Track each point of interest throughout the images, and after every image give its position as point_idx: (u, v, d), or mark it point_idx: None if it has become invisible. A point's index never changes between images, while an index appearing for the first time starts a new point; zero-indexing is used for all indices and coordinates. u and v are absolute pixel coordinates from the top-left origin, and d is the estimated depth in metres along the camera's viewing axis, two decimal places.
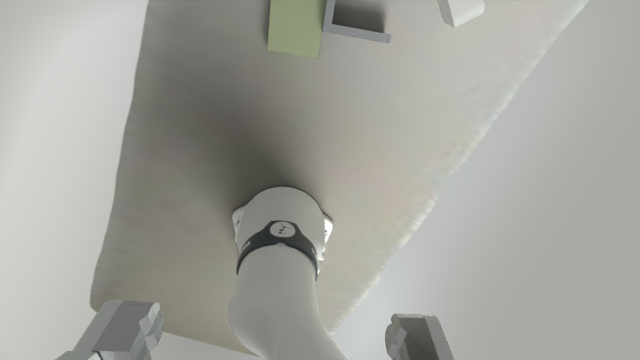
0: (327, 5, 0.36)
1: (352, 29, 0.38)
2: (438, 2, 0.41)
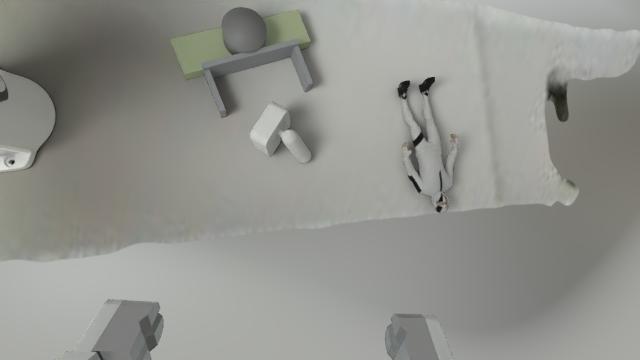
0: (217, 59, 0.54)
1: (213, 84, 0.54)
2: None
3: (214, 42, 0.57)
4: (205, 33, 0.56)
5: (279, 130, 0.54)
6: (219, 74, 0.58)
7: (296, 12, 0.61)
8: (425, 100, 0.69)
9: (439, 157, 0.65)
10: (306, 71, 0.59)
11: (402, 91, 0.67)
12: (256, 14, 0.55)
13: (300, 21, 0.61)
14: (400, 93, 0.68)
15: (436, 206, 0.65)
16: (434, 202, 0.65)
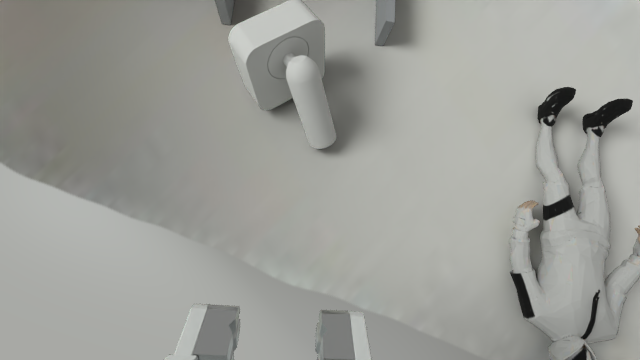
0: None
1: None
2: None
3: None
4: None
5: (290, 54, 0.27)
6: None
7: None
8: (592, 143, 0.34)
9: (600, 262, 0.29)
10: (391, 0, 0.32)
11: (550, 109, 0.34)
12: None
13: None
14: (543, 114, 0.35)
15: None
16: (560, 357, 0.27)
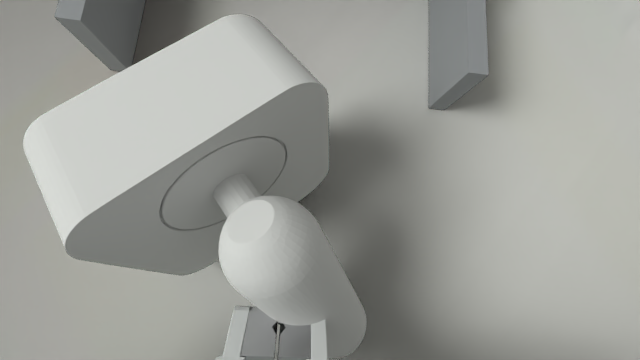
0: None
1: None
2: None
3: None
4: None
5: (232, 183, 0.09)
6: None
7: None
8: None
9: None
10: (478, 24, 0.14)
11: None
12: None
13: None
14: None
15: None
16: None
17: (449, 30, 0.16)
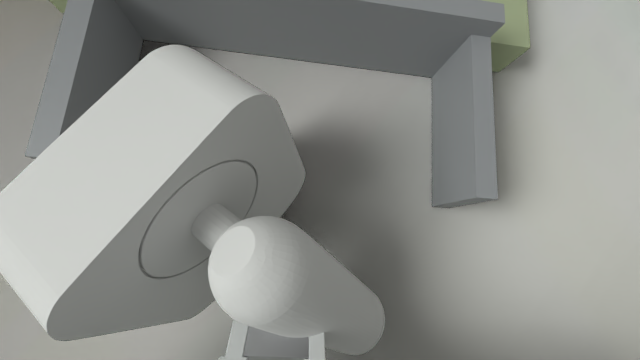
0: None
1: (79, 36, 0.12)
2: None
3: None
4: None
5: (207, 216, 0.09)
6: (170, 36, 0.16)
7: None
8: None
9: None
10: (486, 140, 0.13)
11: None
12: None
13: None
14: None
15: None
16: None
17: (454, 134, 0.15)
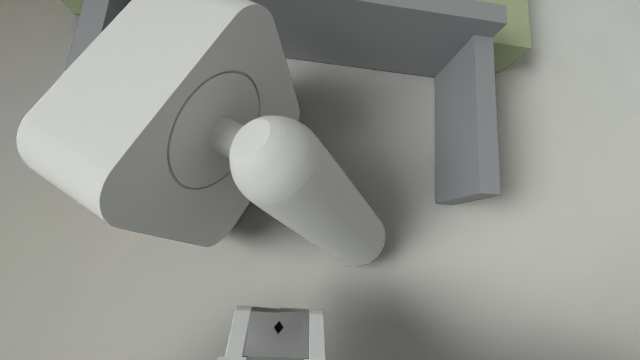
0: None
1: (94, 36, 0.13)
2: None
3: None
4: None
5: (221, 125, 0.10)
6: None
7: None
8: None
9: None
10: (489, 137, 0.14)
11: None
12: None
13: None
14: None
15: None
16: None
17: (458, 132, 0.15)
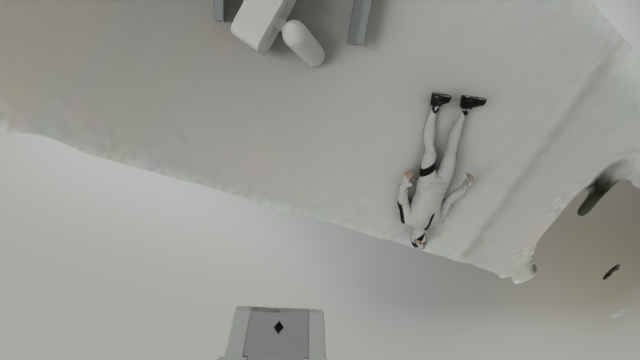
0: None
1: None
2: None
3: None
4: None
5: (278, 20, 0.34)
6: None
7: None
8: (460, 120, 0.51)
9: (441, 196, 0.54)
10: (364, 22, 0.39)
11: (436, 103, 0.48)
12: None
13: None
14: (433, 103, 0.49)
15: (413, 242, 0.58)
16: (412, 238, 0.58)
17: (357, 15, 0.40)
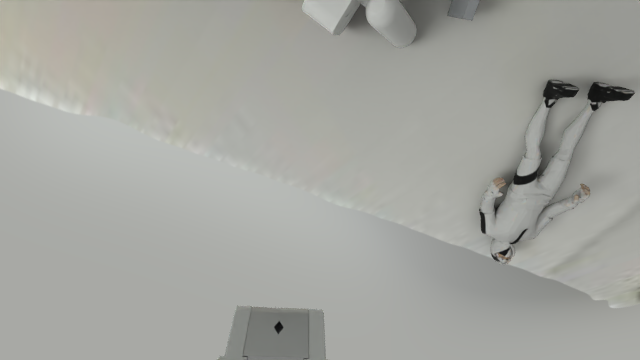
0: None
1: None
2: None
3: None
4: None
5: None
6: None
7: None
8: (584, 116, 0.38)
9: (539, 209, 0.44)
10: None
11: (552, 96, 0.36)
12: None
13: None
14: (547, 94, 0.37)
15: (493, 255, 0.50)
16: (493, 251, 0.49)
17: None
